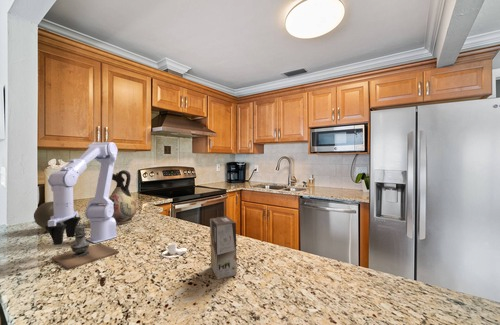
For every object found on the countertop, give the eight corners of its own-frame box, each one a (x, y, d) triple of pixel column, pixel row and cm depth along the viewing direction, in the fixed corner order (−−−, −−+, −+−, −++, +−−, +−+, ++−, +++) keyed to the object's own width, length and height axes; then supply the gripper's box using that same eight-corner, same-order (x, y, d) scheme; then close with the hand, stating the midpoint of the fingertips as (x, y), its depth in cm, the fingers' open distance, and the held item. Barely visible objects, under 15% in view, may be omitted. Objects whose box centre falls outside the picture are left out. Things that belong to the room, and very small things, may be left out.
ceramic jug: (99, 225, 125) (97, 170, 124) (119, 218, 140) (118, 169, 140) (127, 226, 122) (125, 170, 122) (144, 219, 137) (143, 169, 137)
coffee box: (237, 275, 70) (237, 222, 69) (217, 279, 67) (216, 225, 67) (228, 262, 78) (227, 215, 78) (209, 266, 76) (209, 218, 75)
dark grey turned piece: (79, 258, 82) (78, 224, 82) (66, 257, 83) (65, 224, 83) (94, 251, 88) (93, 220, 87) (81, 250, 89) (80, 219, 89)
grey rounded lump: (65, 224, 128) (65, 198, 127) (75, 229, 119) (74, 200, 119) (31, 231, 116) (30, 202, 116) (39, 236, 108) (38, 205, 108)
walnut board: (100, 244, 97) (100, 243, 97) (119, 252, 88) (119, 251, 88) (51, 258, 84) (51, 256, 84) (68, 269, 75) (68, 267, 75)
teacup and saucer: (189, 252, 88) (189, 241, 88) (175, 260, 81) (174, 249, 81) (172, 248, 92) (172, 238, 92) (156, 256, 85) (156, 245, 85)
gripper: (63, 200, 91) (64, 234, 91) (36, 208, 76) (37, 248, 76) (83, 199, 92) (84, 233, 92) (60, 207, 78) (62, 247, 78)
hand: (64, 240), depth 84 cm, fingers open, 7 cm apart
